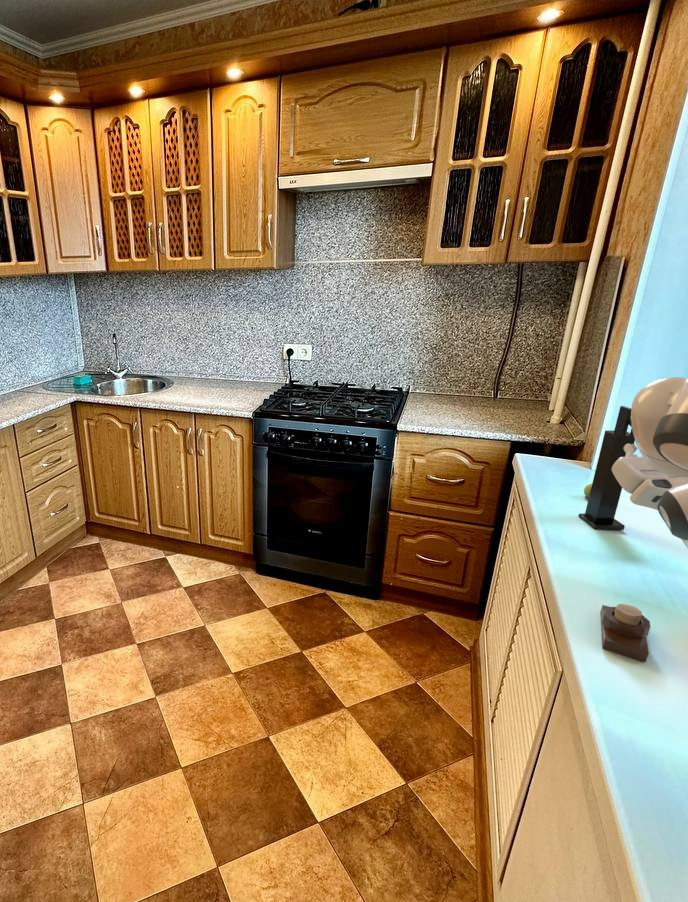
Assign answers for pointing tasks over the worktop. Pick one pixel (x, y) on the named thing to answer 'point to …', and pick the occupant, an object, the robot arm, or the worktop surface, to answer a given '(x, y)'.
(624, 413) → the post
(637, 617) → the button
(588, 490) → the lime
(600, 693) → the worktop surface
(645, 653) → the control block
